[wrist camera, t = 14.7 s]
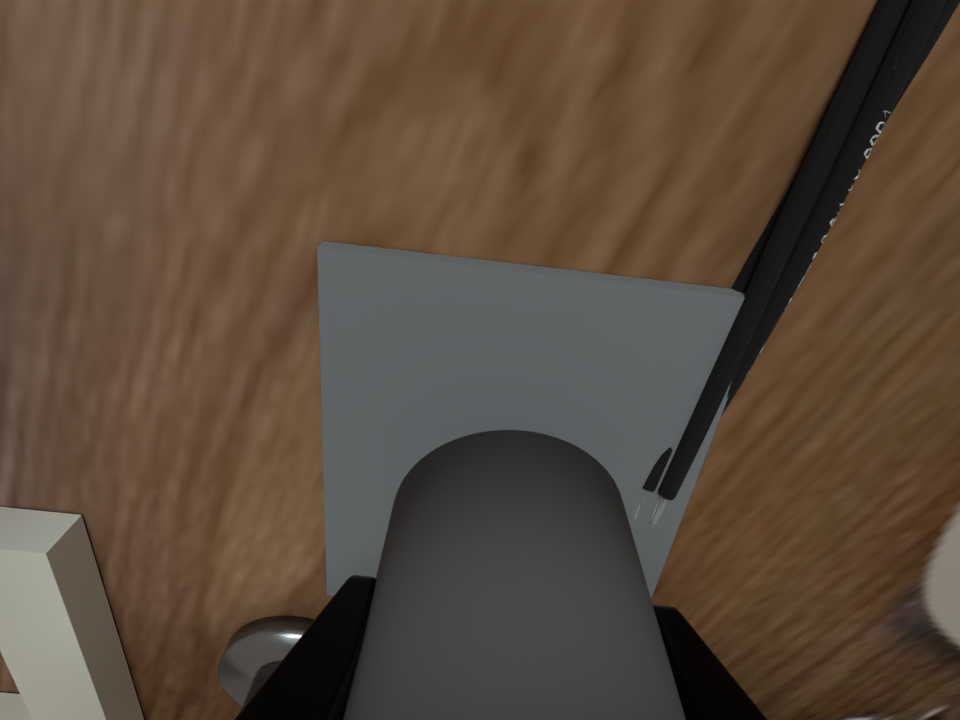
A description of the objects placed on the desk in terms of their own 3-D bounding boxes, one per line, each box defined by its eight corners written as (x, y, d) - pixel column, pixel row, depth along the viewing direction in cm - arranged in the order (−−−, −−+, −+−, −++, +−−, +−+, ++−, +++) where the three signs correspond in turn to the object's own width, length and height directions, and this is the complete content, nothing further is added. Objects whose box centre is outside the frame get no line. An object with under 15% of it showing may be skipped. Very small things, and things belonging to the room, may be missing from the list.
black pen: (656, 501, 13) (668, 533, 12) (616, 492, 13) (626, 524, 12) (1018, -155, 8) (1088, -183, 7) (953, -180, 7) (1016, -212, 7)
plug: (388, 591, 12) (282, 1112, 6) (397, 416, 9) (245, 960, 4) (596, 611, 12) (693, 1142, 6) (651, 444, 10) (879, 1009, 4)
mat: (323, 241, 10) (316, 247, 10) (756, 291, 10) (766, 300, 10) (331, 582, 14) (326, 595, 14) (637, 612, 15) (640, 626, 14)
